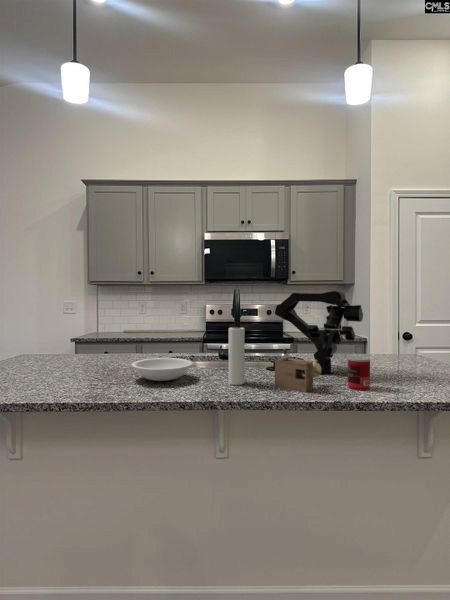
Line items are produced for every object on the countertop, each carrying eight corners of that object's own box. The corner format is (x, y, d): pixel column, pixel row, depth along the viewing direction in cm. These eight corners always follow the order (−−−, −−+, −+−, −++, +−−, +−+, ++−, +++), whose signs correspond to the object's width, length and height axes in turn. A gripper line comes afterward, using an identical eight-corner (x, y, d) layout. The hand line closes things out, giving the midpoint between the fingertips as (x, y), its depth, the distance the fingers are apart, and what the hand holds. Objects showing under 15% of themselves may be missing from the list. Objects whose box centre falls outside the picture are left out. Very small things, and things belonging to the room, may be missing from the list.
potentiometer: (280, 359, 142) (280, 348, 142) (286, 359, 143) (286, 348, 143) (283, 360, 140) (283, 349, 140) (289, 360, 141) (289, 349, 141)
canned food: (369, 386, 144) (369, 356, 144) (370, 391, 137) (370, 360, 136) (347, 384, 147) (348, 355, 146) (347, 389, 139) (347, 359, 139)
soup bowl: (205, 379, 154) (205, 362, 154) (156, 390, 137) (156, 372, 136) (167, 370, 171) (167, 355, 170) (119, 379, 153) (119, 363, 153)
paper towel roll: (239, 386, 143) (239, 328, 142) (225, 384, 146) (225, 327, 146) (248, 382, 149) (248, 327, 149) (235, 380, 152) (235, 326, 152)
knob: (307, 375, 148) (307, 360, 148) (321, 377, 144) (321, 362, 144) (298, 378, 142) (299, 363, 142) (313, 380, 138) (313, 365, 138)
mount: (283, 383, 148) (283, 357, 147) (314, 388, 140) (314, 361, 140) (274, 387, 142) (275, 360, 142) (305, 392, 135) (306, 364, 134)
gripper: (361, 332, 161) (353, 363, 152) (319, 330, 172) (309, 358, 163) (355, 314, 154) (346, 345, 145) (311, 313, 165) (300, 342, 156)
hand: (324, 348), depth 153 cm, fingers closed
